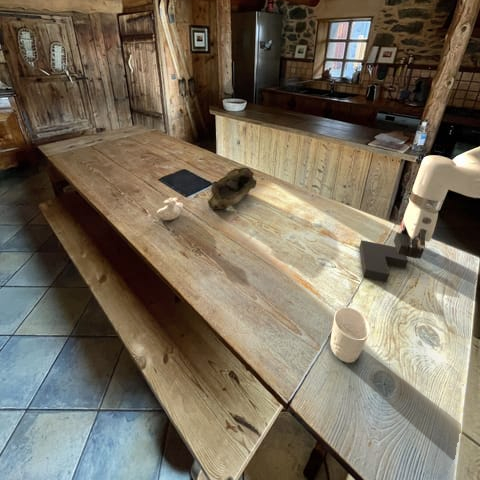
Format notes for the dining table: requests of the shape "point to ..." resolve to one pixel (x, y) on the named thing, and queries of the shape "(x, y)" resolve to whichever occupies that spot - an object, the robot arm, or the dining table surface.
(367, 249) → the dark l-shaped block
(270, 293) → the dining table surface
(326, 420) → the dining table surface
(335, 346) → the white cup
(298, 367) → the dining table surface
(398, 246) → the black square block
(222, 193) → the hollow geode rock
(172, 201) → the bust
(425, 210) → the robot arm
